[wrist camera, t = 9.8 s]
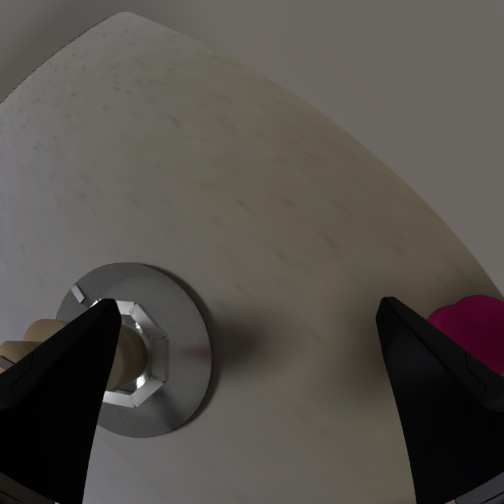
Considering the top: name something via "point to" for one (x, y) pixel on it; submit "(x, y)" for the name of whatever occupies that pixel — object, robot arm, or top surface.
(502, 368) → the pepper mill
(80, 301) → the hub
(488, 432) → the robot arm
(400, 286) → the top surface
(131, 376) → the knob
